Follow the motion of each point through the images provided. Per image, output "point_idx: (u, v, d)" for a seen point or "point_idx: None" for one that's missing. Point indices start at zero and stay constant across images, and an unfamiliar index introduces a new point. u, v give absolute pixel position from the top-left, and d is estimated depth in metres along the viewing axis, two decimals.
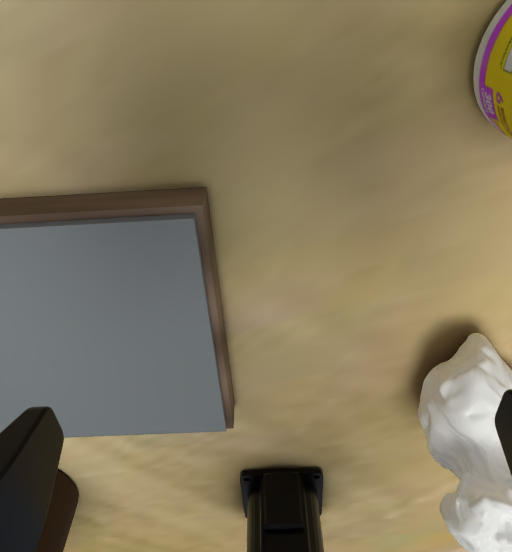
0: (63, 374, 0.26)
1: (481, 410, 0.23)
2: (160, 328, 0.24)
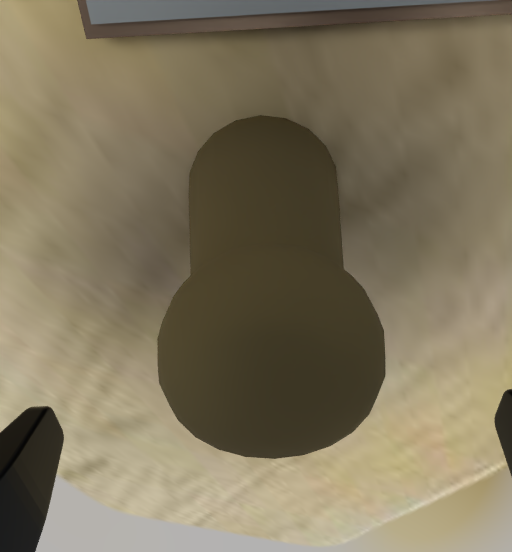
0: None
1: None
2: None
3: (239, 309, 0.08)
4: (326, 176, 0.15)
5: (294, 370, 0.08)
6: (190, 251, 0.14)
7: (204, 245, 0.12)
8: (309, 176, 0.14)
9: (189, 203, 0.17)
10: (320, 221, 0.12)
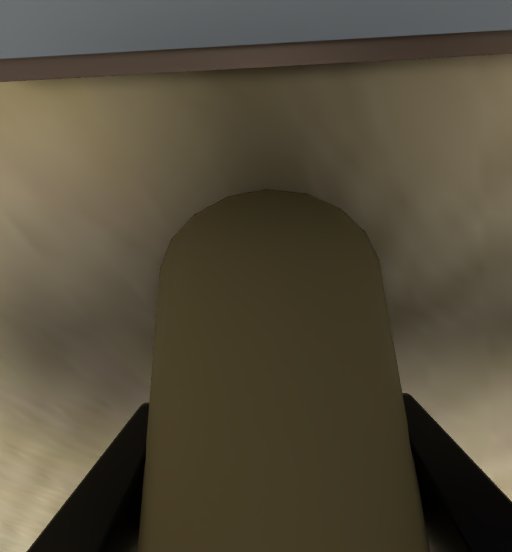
0: None
1: None
2: None
3: None
4: (374, 301, 0.09)
5: None
6: None
7: (160, 495, 0.06)
8: (351, 318, 0.08)
9: None
10: (383, 440, 0.06)
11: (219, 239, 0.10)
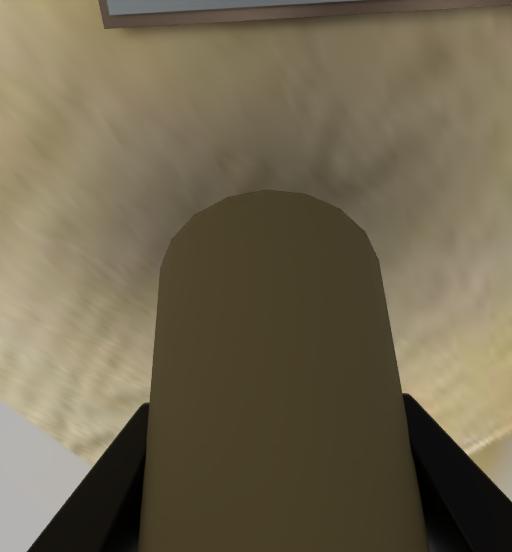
0: None
1: None
2: None
3: None
4: (374, 301, 0.09)
5: None
6: None
7: (160, 496, 0.06)
8: (351, 318, 0.08)
9: None
10: (383, 441, 0.06)
11: (219, 239, 0.10)
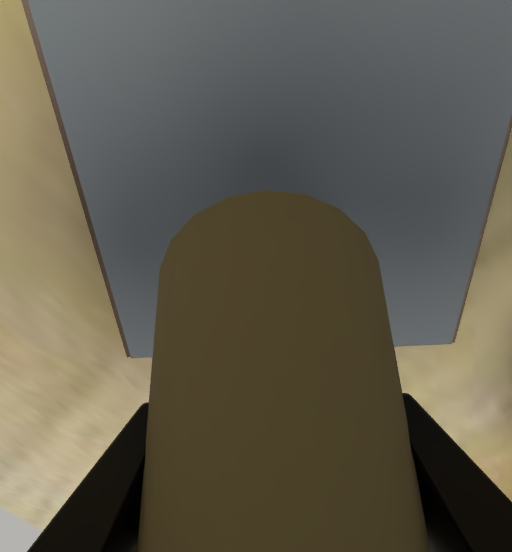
0: None
1: None
2: (246, 63, 0.14)
3: None
4: (375, 301, 0.09)
5: None
6: None
7: (160, 497, 0.06)
8: (352, 319, 0.08)
9: None
10: (383, 442, 0.06)
11: (219, 239, 0.10)
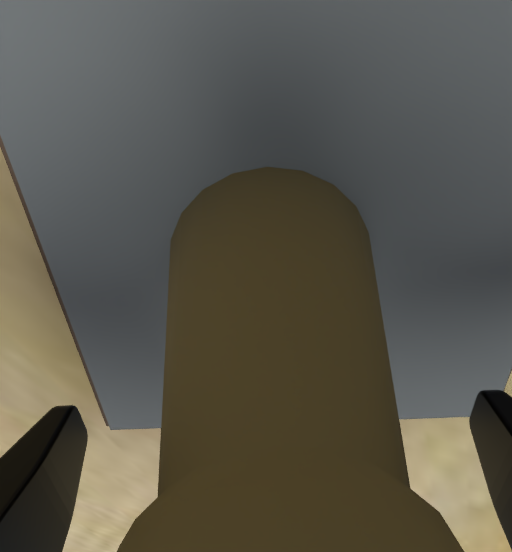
0: None
1: None
2: (249, 90, 0.11)
3: None
4: (363, 262, 0.10)
5: None
6: None
7: (179, 409, 0.07)
8: (342, 272, 0.09)
9: None
10: (365, 365, 0.08)
11: (225, 208, 0.11)
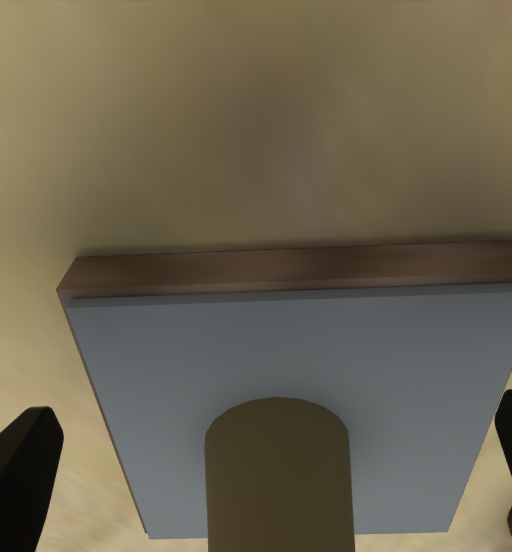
0: None
1: None
2: (265, 360, 0.16)
3: None
4: (340, 482, 0.15)
5: None
6: None
7: None
8: (325, 506, 0.14)
9: (205, 474, 0.17)
10: None
11: (248, 439, 0.16)
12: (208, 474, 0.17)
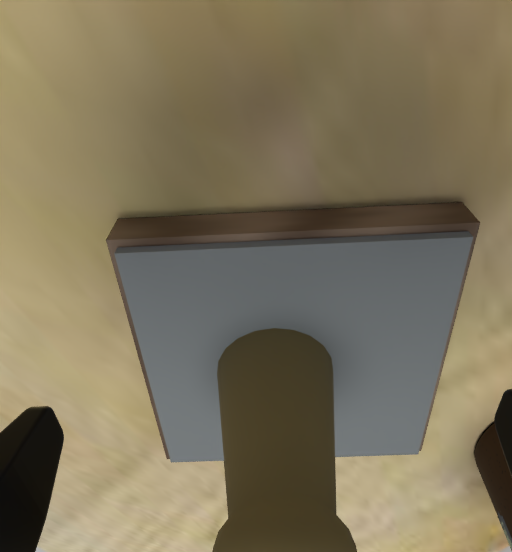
0: None
1: None
2: (264, 296, 0.20)
3: None
4: (323, 388, 0.20)
5: None
6: (223, 452, 0.19)
7: (237, 474, 0.17)
8: (311, 401, 0.19)
9: (219, 391, 0.22)
10: (318, 454, 0.17)
11: (252, 357, 0.21)
12: (221, 387, 0.21)
